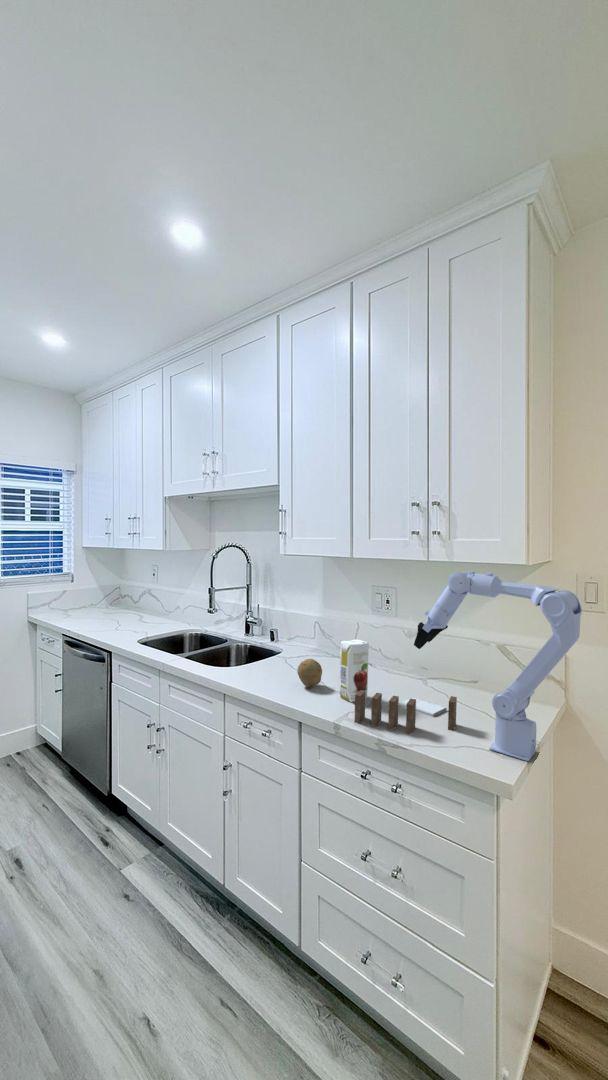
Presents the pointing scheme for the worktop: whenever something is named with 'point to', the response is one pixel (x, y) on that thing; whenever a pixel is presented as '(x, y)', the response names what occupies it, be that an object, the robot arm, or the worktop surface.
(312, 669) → the brown round lump
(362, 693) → the domino
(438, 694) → the worktop surface
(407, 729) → the domino
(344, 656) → the juice carton
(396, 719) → the domino
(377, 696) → the domino
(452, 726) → the domino
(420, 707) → the external hard drive
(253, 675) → the worktop surface
